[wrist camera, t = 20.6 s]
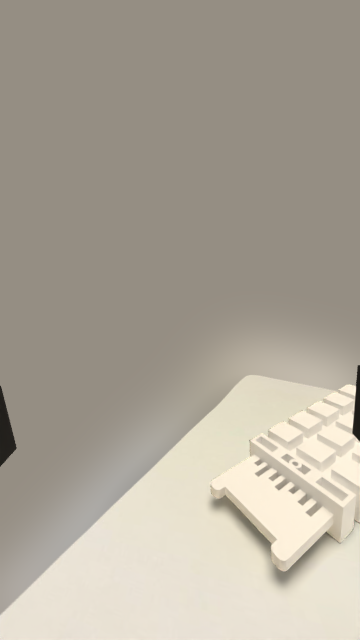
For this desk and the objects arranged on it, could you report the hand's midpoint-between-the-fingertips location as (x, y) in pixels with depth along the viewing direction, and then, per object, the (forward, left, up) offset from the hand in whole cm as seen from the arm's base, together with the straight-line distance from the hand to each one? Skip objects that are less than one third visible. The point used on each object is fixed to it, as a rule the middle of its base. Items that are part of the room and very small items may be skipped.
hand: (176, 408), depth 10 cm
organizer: (+28, +14, -26) cm, 41 cm away
